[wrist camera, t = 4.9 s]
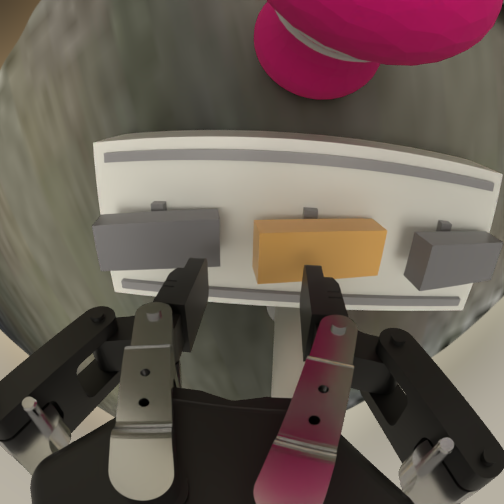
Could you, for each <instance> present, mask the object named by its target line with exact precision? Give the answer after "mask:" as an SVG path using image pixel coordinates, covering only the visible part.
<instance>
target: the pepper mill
mask: <svg viewBox="0 0 504 504" xmlns="http://www.w3.org/2000/svg"><path fill="white" fill-rule="evenodd" d="M267 1H268V2H267V3H266V4H265V5H264V6H263V8H262V10H261V11H260V13H259V15H258V18H257V21H256V24H255V30H254V46H255V51H256V55H257V57H258V60H259V62H260V64H261V66H262V67H263V69H264V70H265V72H266V73H267V74H268V75H269V76H270V77H271V79H272V80H274V81H275V82H276V83H277V84H278V85H280V86H281V87H283V88H284V89H286V90H288V91H289V92H292V93H294V94H296V95H299V96H302V97H306V98H310V99H317V100H325V99H335V98H340V97H343V96H346V95H348V94H351V93H353V92H355V91H357V90H358V89H360V88H361V87H362V86H364V85H365V84H366V83H367V82H368V81H369V80H370V79H371V78H372V77H373V76H374V74H375V73H376V71H377V69H378V67H379V65H380V63H381V64H386V65H410V66H413V65H420V64H427V63H434V62H439V61H442V60H444V59H447V58H450V57H453V56H455V55H457V54H459V53H461V52H464V51H466V50H468V49H469V48H471V47H472V46H474V45H475V44H476V43H478V42H479V41H481V40H482V38H483V37H484V36H485V35H486V34H487V33H488V31H489V30H490V29H491V28H492V27H493V26H494V24H495V22H496V19H497V17H498V15H499V13H500V10H501V7H502V3H503V0H267Z"/></svg>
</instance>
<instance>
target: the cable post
mask: <svg viewBox="0 0 504 504" xmlns="http://www.w3.org/2000/svg"><path fill="white" fill-rule="evenodd" d="M267 312H268V314H269V316H270V317H271V318H272V319H273V320H274V346H273V370H272V391H271V397H276V398H292V397H293V394H294V392H295V389H296V386H297V384H298V381H299V378H300V375H301V373H302V370H303V367H304V364H305V362H303V351H302V336H301V321H300V308H295V307H277V306H267Z"/></svg>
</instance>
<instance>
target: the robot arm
mask: <svg viewBox="0 0 504 504" xmlns="http://www.w3.org/2000/svg"><path fill="white" fill-rule="evenodd" d="M208 295H209V284H208V263H207V259H206V258H192V257H190V258H189V259H188V261H187V263H186V265H185V267H184V268H179V267H178V268H176V269H175V270H173V271H172V272H170V273H169V275H168V277H167V278H166V281H165V282H164V283H163V286H162V287H161V289H160V290H159V292H158V294H157V295H156V297H155V299H154V301H153V302H151V303H147V304H144V305H142V306H141V307H139V308H138V309H137V311H136V313H135V316H130V317H119V318H116V316H115V312H114V311H113V310H112V309H111V308H109V307H104V306H100V307H95V308H92V309H89V310H88V311H86V312H85V313H84V314H82V315H81V316H80V317H78V318H77V319H76V320H75V321H73V322H72V323H71V324H69V325H68V326H67V327H66V328H64V329H63V330H62V331H61V332H59V333H58V334H57V335H55V336H54V337H53V338H52V339H50V340H49V341H48V342H47V343H45V344H44V345H43V346H42V347H40V348H39V349H38V350H37V351H36V352H34V353H33V354H32V355H31V356H29V357H28V358H27V359H26V360H25V361H23V362H22V363H21V364H20V365H19V366H17V367H16V368H15V369H14V370H13V371H11V372H10V373H9V374H8V375H7V376H6V377H4V378H3V379H2V380H1V381H0V445H1V447H2V448H3V449H4V450H5V451H6V452H8V454H10V455H11V456H13V457H14V458H15V459H16V460H17V461H18V462H19V463H20V464H21V465H22V466H23V467H24V468H25V469H26V470H27V471H28V472H29V473H30V474H31V475H32V479H31V487H30V489H31V497H32V504H460V503H461V502H463V501H464V500H466V499H467V498H469V497H470V496H472V495H473V494H474V493H476V492H477V491H478V490H480V489H481V488H482V487H484V486H485V485H486V484H488V483H489V482H490V481H491V480H493V479H494V478H495V477H496V476H498V475H499V474H500V473H501V472H502V470H503V469H504V450H503V448H502V447H501V445H500V444H499V442H498V441H497V440H496V438H495V437H494V436H493V434H492V433H491V432H490V430H489V429H488V428H487V426H486V425H485V424H484V423H483V421H482V420H481V419H480V417H479V416H478V415H477V414H476V412H475V411H474V410H473V408H472V407H471V406H470V405H469V403H468V402H467V401H466V400H465V398H464V397H463V396H462V395H461V393H460V392H459V391H458V390H457V388H456V387H455V386H454V385H453V384H452V382H451V381H450V380H449V379H448V378H447V376H446V375H445V374H444V373H443V372H442V370H441V369H440V368H439V367H438V366H437V364H436V363H435V362H434V361H433V360H432V358H431V357H430V356H429V355H428V354H427V353H426V352H425V350H424V349H423V348H422V347H421V346H420V345H419V343H418V342H417V341H416V340H415V339H414V338H413V337H412V336H411V335H410V334H409V333H408V332H406V331H404V330H402V329H398V328H388V329H385V330H383V331H382V332H381V334H380V336H379V337H377V336H373V335H369V334H365V333H363V332H360V331H358V327H357V324H356V323H355V322H354V321H353V320H352V319H350V318H348V314H347V310H346V307H345V303H344V300H343V296H342V293H341V289H340V286H339V283H338V282H337V281H336V280H335V279H334V278H333V277H324V275H323V270H322V266H320V265H304V269H303V277H302V285H301V293H300V321H301V336H302V351H303V362H305V364H304V367H303V370H302V373H301V375H300V378H299V381H298V384H297V386H296V389H295V392H294V394H293V397H292V398H276V397H263V398H255V399H247V400H238V401H231V400H227V399H224V398H221V397H218V396H215V395H212V394H209V393H206V392H203V391H199V390H191V389H184V388H182V380H181V363H180V356H181V353H182V351H183V352H191V350H192V347H193V344H194V341H195V338H196V335H197V332H198V329H199V326H200V323H201V320H202V317H203V314H204V311H205V308H206V305H207V302H208ZM92 353H93V355H94V357H95V359H94V360H93V361H92V362H91V363H90V364H89V365H88V366H87V367H86V368H85V369H83V370H82V371H81V372H80V373H79V374H78V375H77V374H76V372H77V368H78V366H79V365H80V364H81V363H82V362H83V361H84V360H85V359H86V358H87V357H89V356H90V355H91V354H92ZM119 382H120V385H119V394H118V404H117V414H116V417H115V418H114V419H112V420H110V421H109V422H107V423H105V424H104V425H102V426H100V427H99V428H97V429H95V430H93V431H92V432H90V433H88V434H86V435H85V436H83V437H81V438H79V439H78V440H76V441H74V442H72V443H71V444H69V443H70V440H71V433H72V432H73V431H74V430H75V429H76V427H77V426H78V425H79V424H80V423H81V422H82V421H83V420H84V419H85V418H86V417H87V416H88V415H89V414H90V413H91V412H92V411H93V410H94V408H96V407H97V405H98V404H99V403H100V402H101V401H102V400H103V399H104V398H105V397H106V396H107V395H108V394H109V393H110V392H111V391H112V390H113V389H114V388H115V387H116V386H117V385H118V384H119ZM398 384H399V385H400V386H399V385H398ZM350 388H354V389H358V390H360V392H361V395H362V396H363V398H364V400H365V401H366V403H367V404H368V406H369V408H370V410H371V411H372V413H373V415H374V416H375V418H376V420H377V421H378V423H379V425H380V426H381V428H382V430H383V431H384V433H385V435H386V436H387V438H388V440H389V441H390V443H391V445H392V446H393V448H394V450H395V452H396V453H397V455H398V457H399V458H400V460H401V462H402V463H403V464H402V465H401V467H400V469H399V479H400V485H401V487H402V490H401V489H399V488H398V487H397V486H396V485H395V484H394V483H393V482H391V481H390V480H389V479H388V478H387V477H386V476H385V475H384V474H383V473H381V472H380V471H379V470H378V469H377V468H376V467H375V466H374V465H373V464H372V463H371V462H370V461H368V460H367V459H366V458H365V457H364V456H363V455H362V454H361V453H360V452H359V451H358V450H357V449H356V448H354V446H352V444H350V443H349V442H348V441H347V440H346V439H345V438H344V437H343V436H342V435H341V430H342V426H343V422H344V417H345V413H346V408H347V403H348V398H349V393H350ZM401 388H402V389H403V390H402V389H401ZM403 391H404V392H405V393H404V392H403Z"/></svg>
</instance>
